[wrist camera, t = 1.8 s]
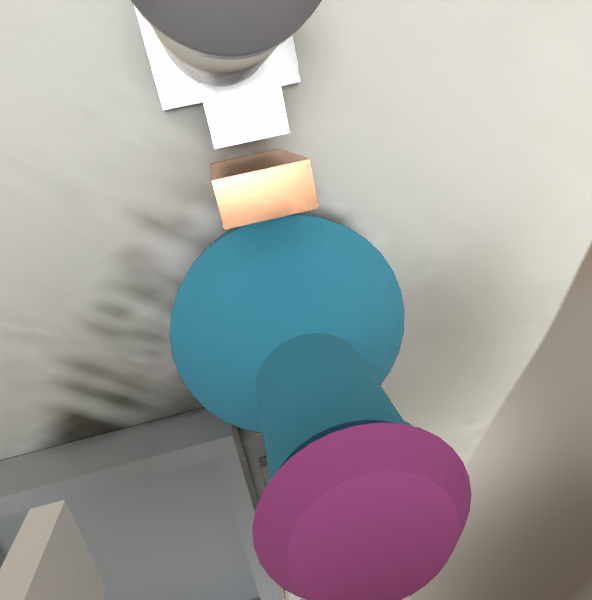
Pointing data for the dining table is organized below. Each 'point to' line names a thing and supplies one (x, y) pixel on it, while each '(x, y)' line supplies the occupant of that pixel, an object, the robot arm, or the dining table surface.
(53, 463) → the tray
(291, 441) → the perfume bottle
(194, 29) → the canister
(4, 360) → the dining table surface
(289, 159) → the clip rack
